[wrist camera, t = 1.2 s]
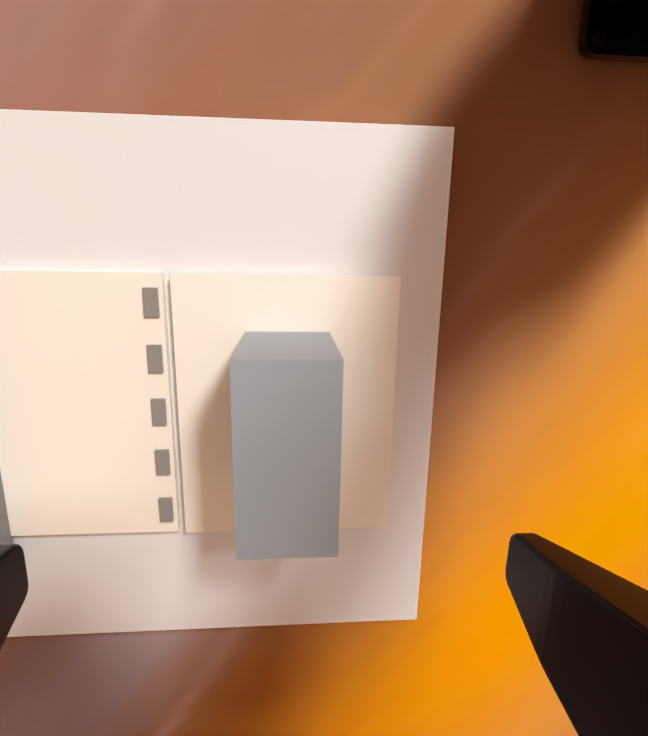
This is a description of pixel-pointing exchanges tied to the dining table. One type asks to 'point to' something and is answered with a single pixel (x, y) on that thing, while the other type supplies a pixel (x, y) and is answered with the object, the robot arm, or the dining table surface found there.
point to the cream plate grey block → (285, 406)
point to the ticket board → (157, 356)
